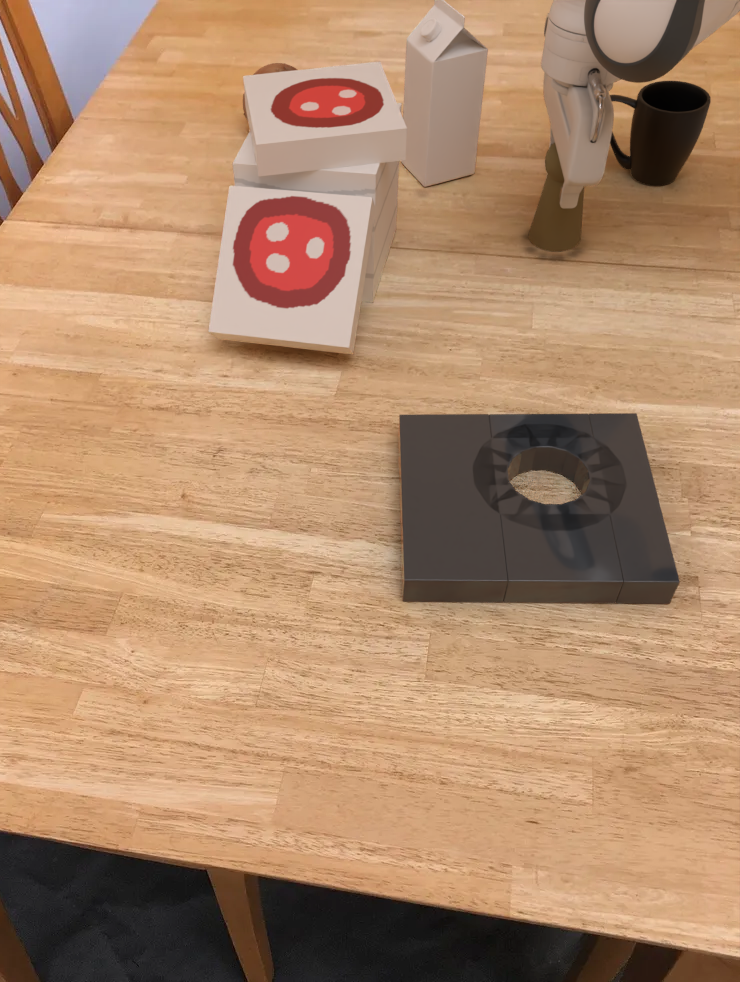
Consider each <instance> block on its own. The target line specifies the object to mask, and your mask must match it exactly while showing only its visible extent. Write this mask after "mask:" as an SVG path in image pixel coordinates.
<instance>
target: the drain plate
mask: <svg viewBox="0 0 740 982" xmlns="http://www.w3.org/2000/svg"><path fill="white" fill-rule="evenodd" d="M397 429H398V432H397V435H398V436H397V446H398V447H397V449H398V450H397V451H398V453H397V454H398V485H399V486H398V488H399V489H398V490H399V516H400V517H399V522H400V523H399V525H400V552H401V553H400V557H401V560H400V561H401V593H402V594H401V595H402V597H401V598H402V602H403V603H405V602H408V603H411V602H412V603H513V604H514V603H516V604H517V603H519V604H520V603H521V604H523V603H525V604H529V603H530V604H621V605H622V604H624V605H625V604H628V605H629V604H630V605H631V604H632V605H633V604H634V605H636V604H637V605H670V604H671V602H672V599H673V598H674V597H675V594H676V592H677V589H678V587H679V585H680V583H681V582H680V577H679V573H678V569H677V566H676V562H675V558H674V554H673V550H672V546H671V542H670V538H669V535H668V534H669V533H668V530H667V527H666V523H665V518H664V515H663V511H662V508H661V502H660V499H659V496H658V491H657V488H656V484H655V480H654V476H653V473H652V468H651V465H650V460H649V455H648V452H647V448H646V445H645V441H644V436H643V432H642V429H641V425H640V421H639V417H638V413H635V412H630V413H628V412H626V413H625V412H624V413H623V412H621V413H620V412H619V413H618V412H617V413H615V412H613V413H612V412H611V413H607V412H606V413H605V412H604V413H490V414H489V413H467V414H466V413H446V414H445V413H442V414H439V413H438V414H434V413H432V414H429V413H427V414H425V413H423V414H422V413H421V414H419V413H417V414H416V413H415V414H399V416H398V428H397ZM529 471H547V472H551V473H556V474H559V475H561V476H563V477H564V478H565V479H568V480H569V481H571V482H573V484H574V485H575V486H576V488H577V489H578V490H579V491H580V494H581V495H580V496H578V497H577V498H576V499H573V500H570V501H566V502H564V503H543V502H539V501H536V500H532V499H529V498H528V497H526V496H525V495H523V494H522V493H520V492H518V491H517V489H516V488H515V487H514V486H513V484H512V482H511V480H512V479H514V478H515V477H516V476H518V475H520V474H523V473H527V472H529Z"/></svg>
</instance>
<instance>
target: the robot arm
mask: <svg viewBox="0 0 740 982" xmlns="http://www.w3.org/2000/svg"><path fill="white" fill-rule="evenodd" d="M739 12H740V0H552V2H551V5H550V7H549V11H548V12H547V14H546V15H545V16H546V17H545V22H544V27H543V35H544V36H543V37H544V41H543V45H542V46H543V47H542V53H541V59H540V67H541V70H542V71H543V85H542V86H543V89H542V92H543V101H544V105H545V108H546V112H547V116H548V120H549V124H550V125H549V146H548V148H549V147H550V146H551V145H552V144H553V143H554V142H555V144H556V148H557V152H558V156H559V160H560V164H561V168H562V172H563V176H564V184H563V186H561V189H560V195H559V202H560V206H561V208H574V207H576V205H577V202H578V198H579V194H580V192H581V190H582V189H583V187H584V188H585V187H596V186H598V185H599V184H600V183H601V181H602V180H603V178H604V175H605V170H606V166H607V161H608V156H609V150H610V147H611V145H610V141H611V135H612V132H613V128H614V121H615V109H614V104H613V101H611V98H610V95H611V94H610V91H611V90H612V89H613V86H614V84H615V83H617V82H619V81H621V80H622V81H624V82H628V83H635V84H637V83H638V84H640V83H641V84H642V83H649V82H652V81H655V80H658V79H661V78H662V77H664V76H665V75H666V74H668V73H669V72H671V71H672V70H673V69H674V68H675V67H676V66H677V65H678V64H680V62H681V61H682V60H683V59H684V58H685V57H686V56H687V55H688V54H689V53H690V52H691V51H692V50H693V49H695V48H696V47H697V46H699V45H700V44H702V43H703V42H704V41H705V40H707V38H709V37H710V36H712V35H713V34H714V33H716V32H717V31H718V30H719V29H720V28H721V27H723V26H724V25H725V24H726V23H727V22H729V21H730V20H731V19H733V18H734V17H735V16H736V15H738V13H739Z"/></svg>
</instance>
